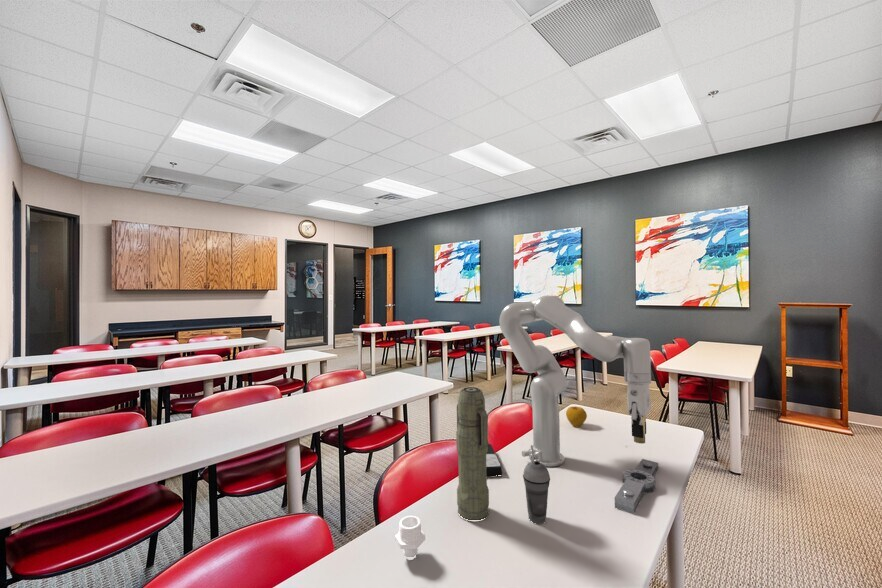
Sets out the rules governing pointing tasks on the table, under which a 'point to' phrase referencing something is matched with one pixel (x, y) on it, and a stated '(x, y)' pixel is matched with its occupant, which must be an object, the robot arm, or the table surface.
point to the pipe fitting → (410, 535)
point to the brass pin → (642, 440)
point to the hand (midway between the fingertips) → (639, 434)
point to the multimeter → (492, 463)
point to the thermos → (472, 454)
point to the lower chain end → (649, 468)
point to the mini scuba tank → (536, 490)
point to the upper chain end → (632, 490)
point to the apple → (576, 416)
